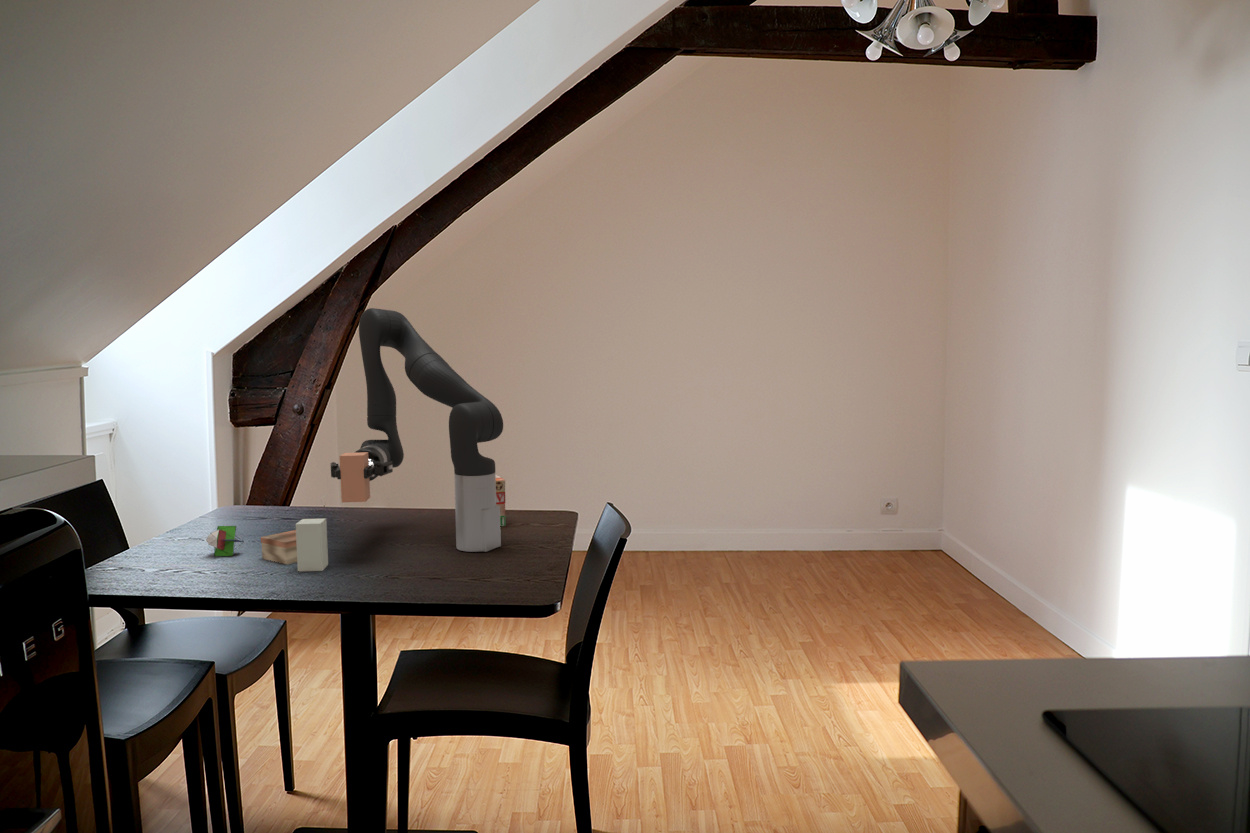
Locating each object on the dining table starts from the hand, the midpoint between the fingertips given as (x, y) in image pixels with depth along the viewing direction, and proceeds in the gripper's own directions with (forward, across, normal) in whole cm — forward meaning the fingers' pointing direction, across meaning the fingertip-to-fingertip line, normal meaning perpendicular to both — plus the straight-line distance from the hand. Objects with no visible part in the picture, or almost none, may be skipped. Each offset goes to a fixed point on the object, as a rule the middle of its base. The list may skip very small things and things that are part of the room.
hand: (352, 474), depth 194 cm
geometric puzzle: (-11, -31, +19) cm, 38 cm away
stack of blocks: (-41, +24, +20) cm, 52 cm away
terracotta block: (-3, 0, +6) cm, 7 cm away
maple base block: (-7, -15, +19) cm, 26 cm away
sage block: (+3, -8, +19) cm, 21 cm away
